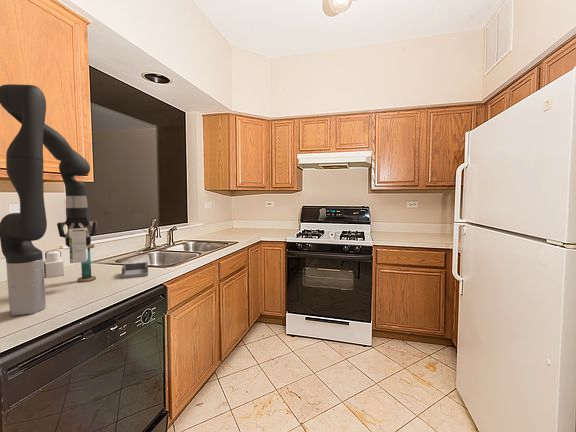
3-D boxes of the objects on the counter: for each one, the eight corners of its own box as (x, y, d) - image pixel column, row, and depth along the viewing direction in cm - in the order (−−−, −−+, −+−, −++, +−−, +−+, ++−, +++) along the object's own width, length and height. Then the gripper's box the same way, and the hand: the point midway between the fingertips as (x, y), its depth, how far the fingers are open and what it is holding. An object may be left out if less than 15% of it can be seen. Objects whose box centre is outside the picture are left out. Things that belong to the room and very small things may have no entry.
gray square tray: (147, 276, 143) (147, 266, 142) (121, 278, 138) (121, 269, 138) (148, 270, 153) (147, 262, 152) (124, 273, 148) (123, 264, 148)
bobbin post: (94, 281, 134) (92, 246, 133) (75, 283, 131) (74, 247, 130) (97, 277, 141) (95, 243, 139) (79, 278, 138) (77, 245, 137)
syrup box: (72, 260, 127) (70, 227, 126) (88, 259, 130) (86, 226, 129) (69, 263, 122) (68, 228, 121) (87, 262, 125) (85, 227, 124)
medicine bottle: (44, 275, 144) (42, 251, 143) (62, 272, 149) (60, 249, 148) (45, 278, 139) (44, 253, 138) (64, 275, 144) (63, 251, 143)
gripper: (52, 207, 118) (55, 249, 119) (95, 206, 124) (97, 246, 125) (58, 206, 125) (60, 246, 126) (98, 206, 131) (100, 243, 132)
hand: (78, 246), depth 126 cm, fingers closed on syrup box, 6 cm apart
